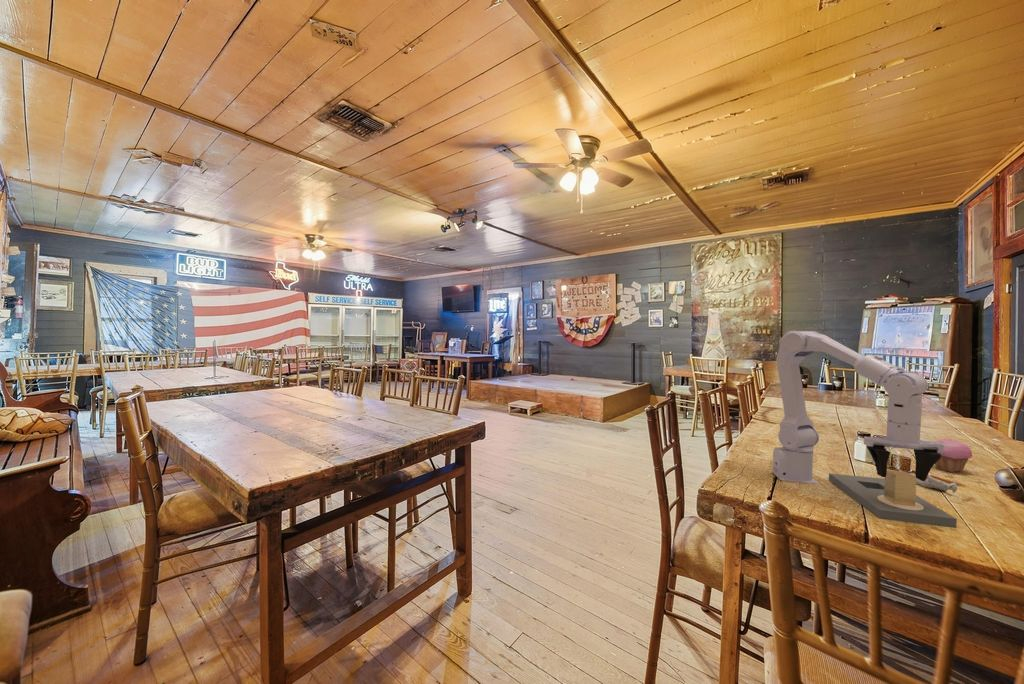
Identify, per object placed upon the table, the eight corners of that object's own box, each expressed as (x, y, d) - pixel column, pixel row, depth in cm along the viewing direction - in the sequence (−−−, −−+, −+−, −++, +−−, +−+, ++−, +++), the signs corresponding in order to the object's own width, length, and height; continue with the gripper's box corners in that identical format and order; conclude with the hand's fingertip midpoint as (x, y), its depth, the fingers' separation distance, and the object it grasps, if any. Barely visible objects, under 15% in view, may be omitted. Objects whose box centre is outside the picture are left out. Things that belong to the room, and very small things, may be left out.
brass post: (894, 504, 94) (895, 475, 93) (883, 497, 98) (884, 469, 97) (915, 506, 93) (916, 477, 92) (903, 499, 96) (904, 471, 96)
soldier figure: (913, 483, 117) (968, 485, 106) (910, 496, 115) (965, 500, 104) (895, 465, 116) (948, 465, 105) (891, 478, 114) (945, 480, 103)
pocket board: (879, 520, 91) (879, 508, 91) (828, 481, 114) (829, 472, 114) (956, 529, 87) (956, 517, 87) (887, 487, 110) (888, 478, 110)
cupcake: (947, 465, 129) (949, 435, 128) (980, 475, 120) (981, 443, 120) (921, 465, 128) (923, 435, 128) (952, 475, 120) (953, 443, 119)
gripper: (876, 423, 92) (874, 480, 93) (955, 428, 88) (952, 487, 89) (860, 417, 99) (857, 469, 100) (932, 421, 95) (929, 476, 95)
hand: (900, 477), depth 95 cm, fingers open, 7 cm apart
